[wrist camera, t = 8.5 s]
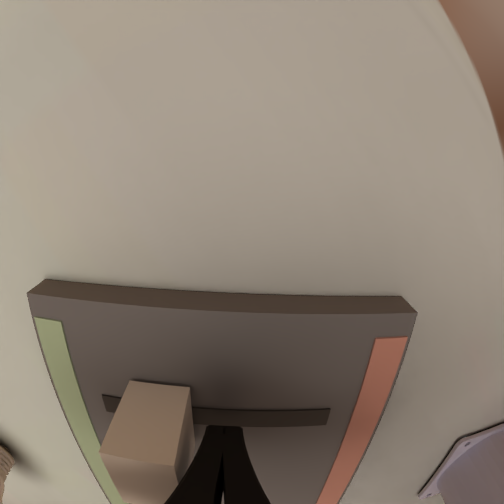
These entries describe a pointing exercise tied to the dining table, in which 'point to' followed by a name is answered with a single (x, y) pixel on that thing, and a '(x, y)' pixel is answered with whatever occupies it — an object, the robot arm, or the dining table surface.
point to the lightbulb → (4, 467)
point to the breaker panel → (231, 372)
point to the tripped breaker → (149, 442)
